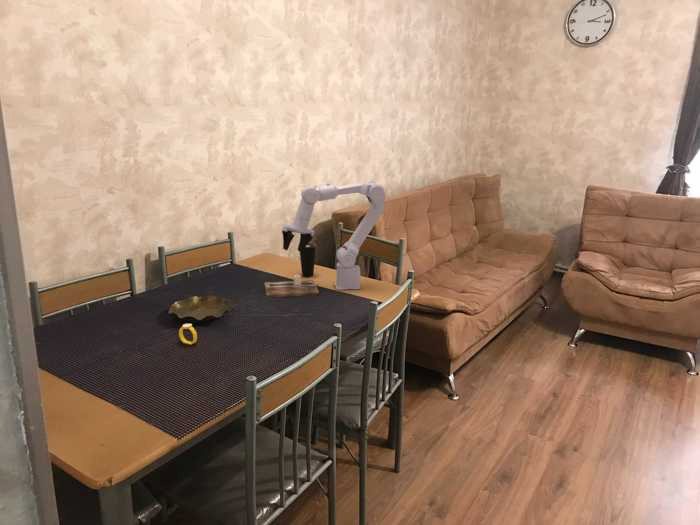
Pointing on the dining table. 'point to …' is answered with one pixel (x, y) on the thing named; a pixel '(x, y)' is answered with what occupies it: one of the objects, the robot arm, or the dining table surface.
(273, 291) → the console
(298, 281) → the fader tab
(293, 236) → the robot arm
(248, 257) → the dining table surface
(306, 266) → the drinking cup
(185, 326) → the gold ring
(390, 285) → the dining table surface
